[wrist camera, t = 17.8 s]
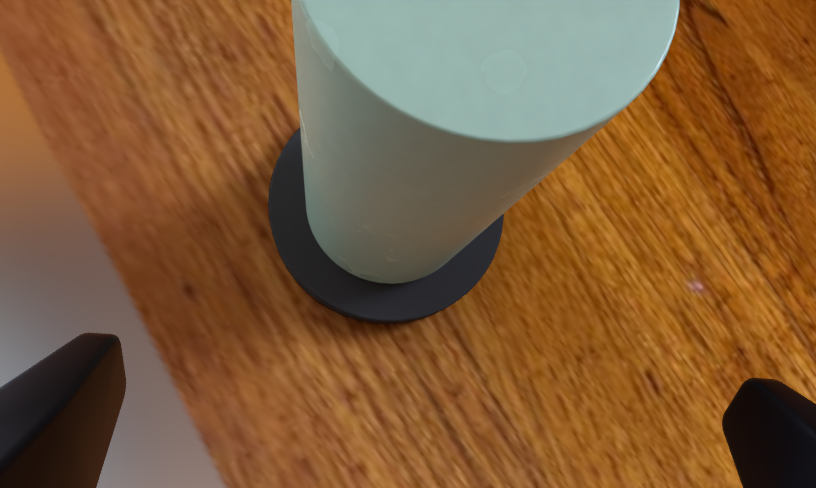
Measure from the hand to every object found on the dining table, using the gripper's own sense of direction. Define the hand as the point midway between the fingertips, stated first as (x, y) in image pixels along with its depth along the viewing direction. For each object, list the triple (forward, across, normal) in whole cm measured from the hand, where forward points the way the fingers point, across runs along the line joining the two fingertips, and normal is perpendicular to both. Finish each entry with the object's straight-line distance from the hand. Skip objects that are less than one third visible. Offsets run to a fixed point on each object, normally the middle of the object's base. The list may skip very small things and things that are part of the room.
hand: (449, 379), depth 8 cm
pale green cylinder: (+11, 0, +3) cm, 12 cm away
